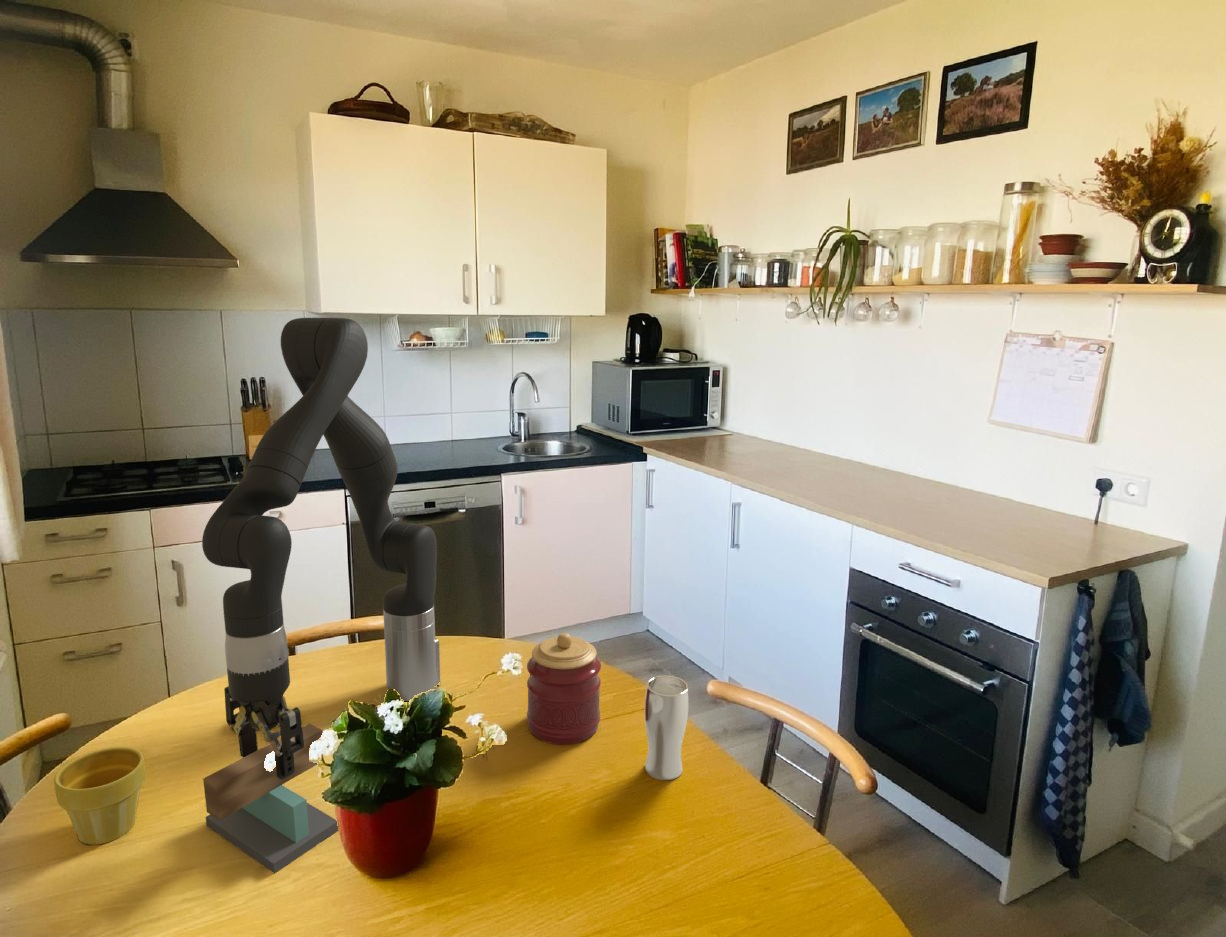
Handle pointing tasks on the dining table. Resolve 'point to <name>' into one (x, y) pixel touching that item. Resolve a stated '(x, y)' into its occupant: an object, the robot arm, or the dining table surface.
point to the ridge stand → (275, 828)
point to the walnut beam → (252, 777)
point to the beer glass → (665, 725)
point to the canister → (563, 690)
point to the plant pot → (101, 792)
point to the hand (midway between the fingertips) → (267, 765)
